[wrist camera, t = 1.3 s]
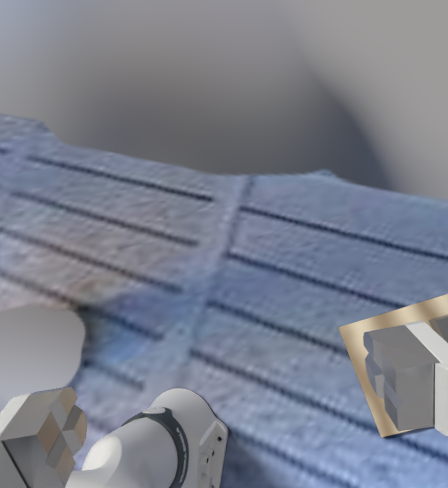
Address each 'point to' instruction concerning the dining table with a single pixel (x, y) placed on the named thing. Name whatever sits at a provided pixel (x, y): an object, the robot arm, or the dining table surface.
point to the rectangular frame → (440, 326)
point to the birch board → (358, 352)
